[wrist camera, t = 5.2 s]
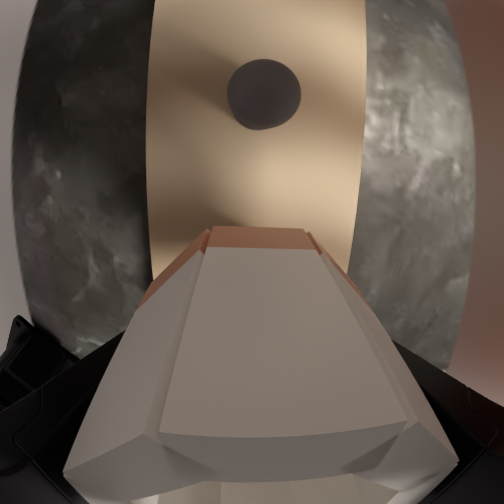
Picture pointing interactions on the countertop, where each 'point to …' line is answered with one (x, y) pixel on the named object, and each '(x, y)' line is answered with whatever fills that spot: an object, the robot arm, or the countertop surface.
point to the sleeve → (257, 388)
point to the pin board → (245, 161)
